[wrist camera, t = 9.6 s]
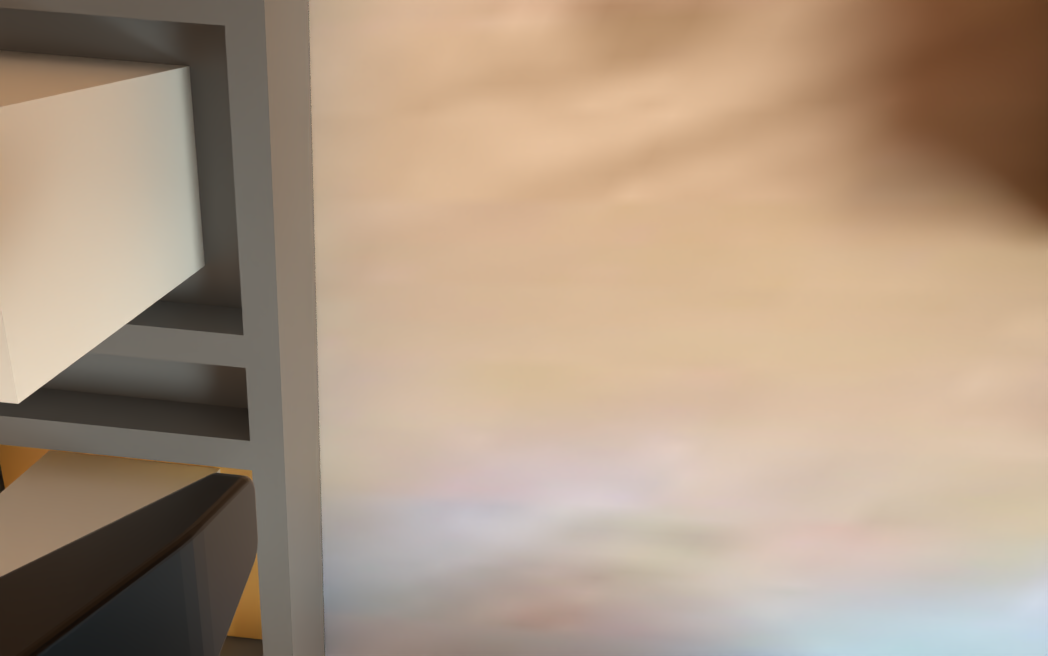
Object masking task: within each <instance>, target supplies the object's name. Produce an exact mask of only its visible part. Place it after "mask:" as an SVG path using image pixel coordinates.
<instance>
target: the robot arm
mask: <svg viewBox="0 0 1048 656" xmlns="http://www.w3.org/2000/svg"><path fill="white" fill-rule="evenodd" d="M257 548H258V528H257V511H256V495H255V486H254V483H253V481H252V480H251V478H249V477H248V476H244V475H235V474H225V473H212V474H210V475H208V476H206V477H204V478H201V479H199V480H197V481H195V482H193V483H191V484H189V485H187V486H185V487H183V488H181V489H179V490H177V491H175V492H173V493H171V494H169V495H167V496H165V497H163V498H161V499H158V500H156V501H154V502H152V503H150V504H148V505H146V506H144V507H142V508H140V509H138V510H136V511H134V512H132V513H130V514H128V515H126V516H124V517H122V518H120V519H118V520H116V521H113V522H111V523H109V524H107V525H105V526H103V527H101V528H99V529H97V530H95V531H93V532H91V533H89V534H87V535H85V536H83V537H81V538H79V539H77V540H75V541H72V542H70V543H68V544H66V545H64V546H62V547H60V548H58V549H56V550H54V551H52V552H50V553H48V554H46V555H44V556H42V557H40V558H38V559H36V560H34V561H31V562H29V563H27V564H25V565H23V566H21V567H19V568H17V569H15V570H13V571H11V572H9V573H7V574H5V575H3V576H1V577H0V656H219V655H220V652H221V650H222V647H223V644H224V642H225V639H226V636H227V634H228V631H229V628H230V626H231V623H232V620H233V618H234V615H235V612H236V610H237V607H238V604H239V602H240V599H241V596H242V594H243V591H244V588H245V586H246V583H247V581H248V578H249V575H250V573H251V570H252V567H253V565H254V562H255V558H256V554H257Z"/></svg>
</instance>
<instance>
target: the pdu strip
mask: <svg viewBox="0 0 1048 656" xmlns="http://www.w3.org/2000/svg"><path fill="white" fill-rule="evenodd" d="M49 450H52V451H61V452H70V453H80V454H89V455H99V456H108V457H117V458H127V459H136V460H145V461H155V462H164V463H174V464H183V465H192V466H202V467H211V468H220V473H225V474H235V475H244V476H248V477H249V478H251V480H252V481H253V483H254V486H255V495H256V511H257V528H258V548H257V554H256V558H255V562H254V565H253V567H252V570H251V573H250V575H249V578H248V581H247V583H246V586H245V588H244V591H243V594H242V596H241V599H240V602H239V604H238V607H237V610H236V612H235V615H234V618H233V620H232V623H231V626H230V628H229V631H228V634H227V636H226V639H225V642H224V644H223V647H222V650H221V652H220V655H219V656H325V644H324V604H323V564H322V524H321V485H320V445H319V405H318V366H317V326H316V286H315V246H314V207H313V167H312V127H311V88H310V48H309V8H308V0H0V493H1V492H2V491H3V490H5V489H6V488H7V487H8V486H9V485H10V484H11V483H13V482H14V481H15V480H16V479H17V478H18V477H20V476H21V475H22V474H23V473H24V472H25V471H26V470H28V469H29V468H30V467H31V466H32V465H33V464H34V463H36V462H37V461H38V460H39V459H40V458H41V457H43V456H44V455H45V454H46V453H47V452H48V451H49Z"/></svg>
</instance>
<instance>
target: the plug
mask: <svg viewBox="0 0 1048 656" xmlns="http://www.w3.org/2000/svg"><path fill="white" fill-rule="evenodd" d="M212 473H220V468H211V467H202V466H192V465H183V464H174V463H164V462H155V461H145V460H136V459H127V458H117V457H108V456H99V455H89V454H80V453H70V452H61V451H52V450H49V451H48V452H47V453H46V454H45V455H44V456H43V457H41V458H40V459H39V460H38V461H37V462H36V463H34V464H33V465H32V466H31V467H30V468H29V469H28V470H26V471H25V472H24V473H23V474H22V475H21V476H20V477H18V478H17V479H16V480H15V481H14V482H13V483H11V484H10V485H9V486H8V487H7V488H6V489H5V490H3V491H2V492H1V493H0V577H1V576H3V575H5V574H7V573H9V572H11V571H13V570H15V569H17V568H19V567H21V566H23V565H25V564H27V563H29V562H31V561H34V560H36V559H38V558H40V557H42V556H44V555H46V554H48V553H50V552H52V551H54V550H56V549H58V548H60V547H62V546H64V545H66V544H68V543H70V542H72V541H75V540H77V539H79V538H81V537H83V536H85V535H87V534H89V533H91V532H93V531H95V530H97V529H99V528H101V527H103V526H105V525H107V524H109V523H111V522H113V521H116V520H118V519H120V518H122V517H124V516H126V515H128V514H130V513H132V512H134V511H136V510H138V509H140V508H142V507H144V506H146V505H148V504H150V503H152V502H154V501H156V500H158V499H161V498H163V497H165V496H167V495H169V494H171V493H173V492H175V491H177V490H179V489H181V488H183V487H185V486H187V485H189V484H191V483H193V482H195V481H197V480H199V479H201V478H204V477H206V476H208V475H210V474H212Z"/></svg>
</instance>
